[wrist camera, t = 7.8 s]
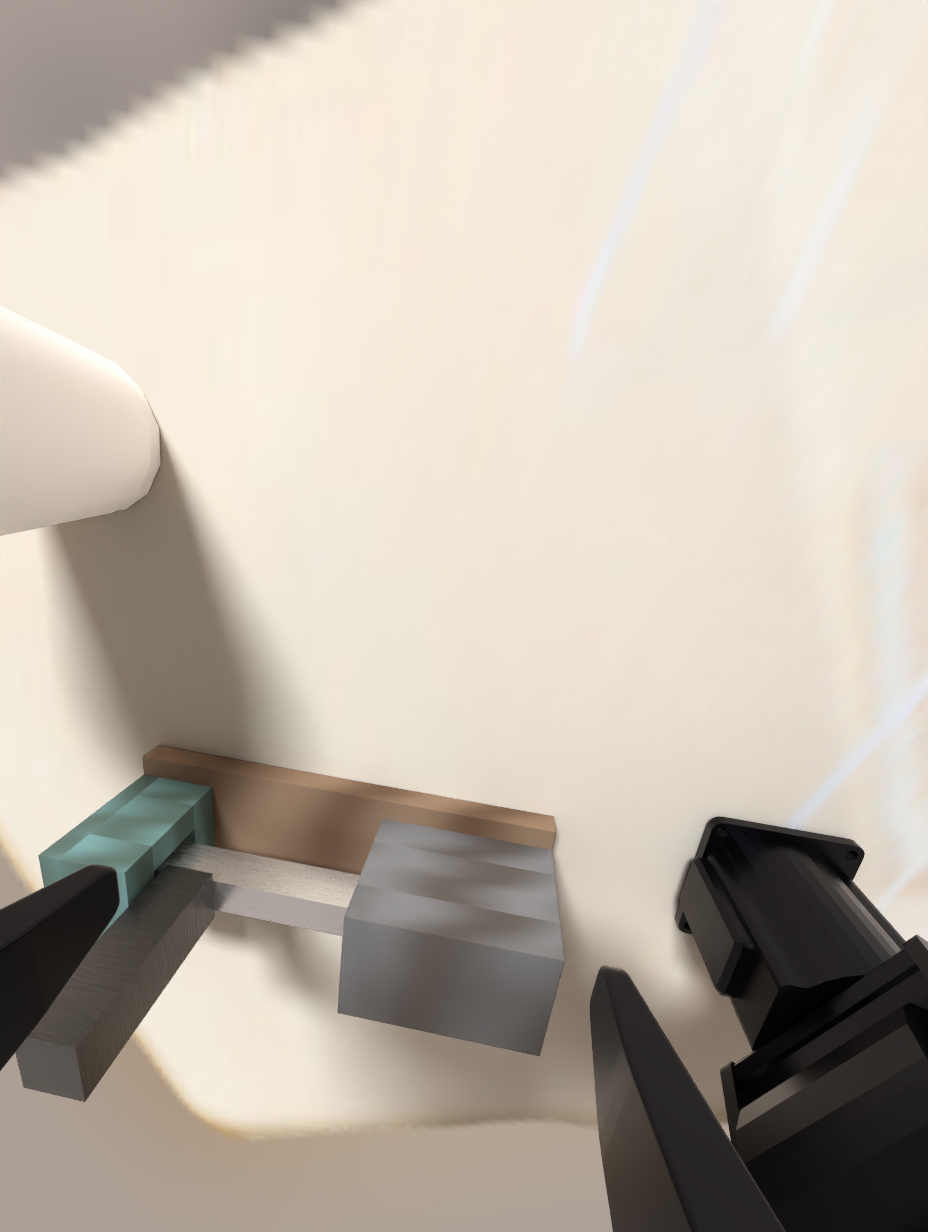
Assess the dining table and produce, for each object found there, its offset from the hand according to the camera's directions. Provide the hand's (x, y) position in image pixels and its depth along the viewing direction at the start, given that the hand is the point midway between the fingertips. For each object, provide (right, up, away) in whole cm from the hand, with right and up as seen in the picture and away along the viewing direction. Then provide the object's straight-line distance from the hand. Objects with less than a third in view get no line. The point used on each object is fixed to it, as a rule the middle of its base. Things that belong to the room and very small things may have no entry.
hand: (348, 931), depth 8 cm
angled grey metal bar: (-7, -6, +12) cm, 15 cm away
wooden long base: (-4, -6, +15) cm, 16 cm away
